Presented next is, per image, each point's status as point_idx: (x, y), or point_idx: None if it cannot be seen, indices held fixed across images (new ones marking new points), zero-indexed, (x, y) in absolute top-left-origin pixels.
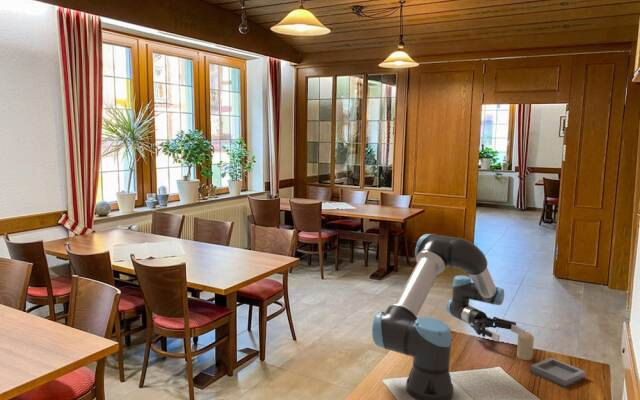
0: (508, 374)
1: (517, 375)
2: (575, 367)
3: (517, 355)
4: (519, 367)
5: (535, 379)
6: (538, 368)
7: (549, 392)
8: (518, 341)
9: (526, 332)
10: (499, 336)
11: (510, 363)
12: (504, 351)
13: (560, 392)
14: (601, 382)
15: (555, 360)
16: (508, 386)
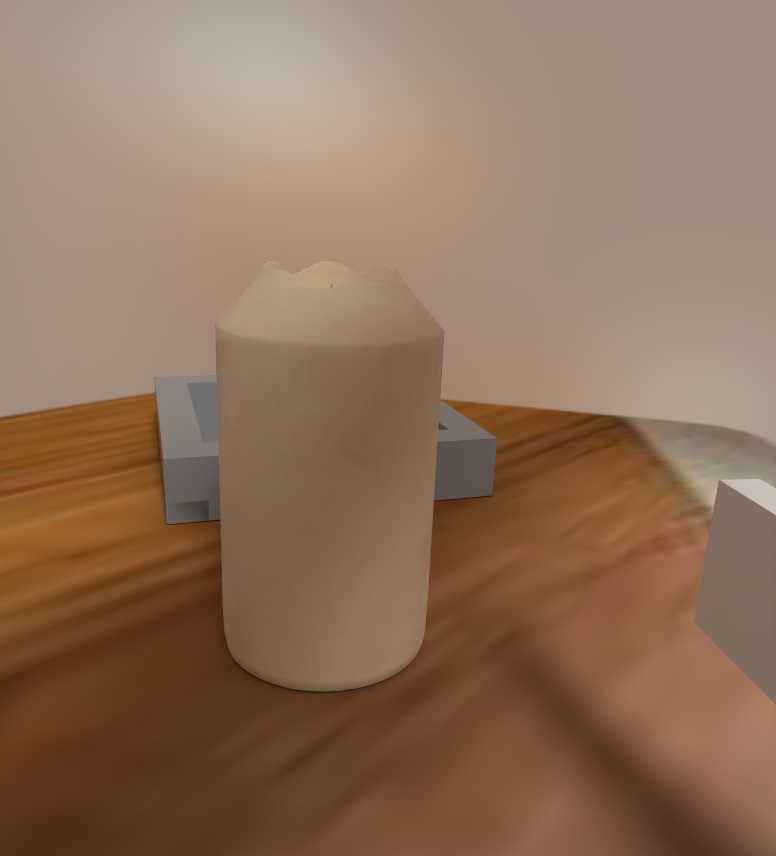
0: (709, 505)
1: (633, 491)
2: (160, 393)
3: (424, 623)
4: (545, 538)
5: (517, 458)
6: (462, 419)
7: (520, 411)
8: (437, 421)
9: (290, 282)
10: (715, 521)
11: (605, 587)
12: (513, 822)
13: (457, 405)
14: (118, 403)
15: (191, 436)
16: (757, 453)
